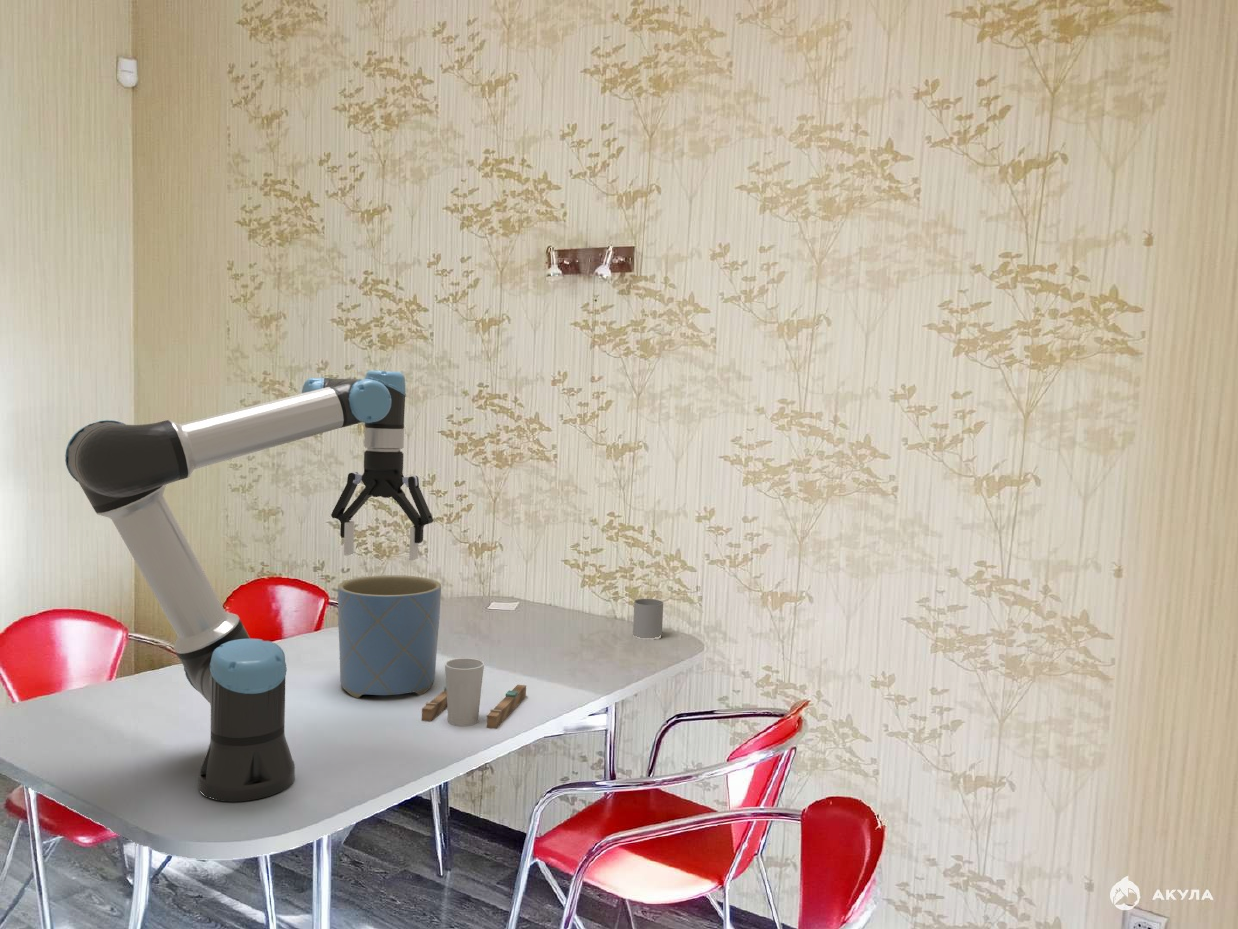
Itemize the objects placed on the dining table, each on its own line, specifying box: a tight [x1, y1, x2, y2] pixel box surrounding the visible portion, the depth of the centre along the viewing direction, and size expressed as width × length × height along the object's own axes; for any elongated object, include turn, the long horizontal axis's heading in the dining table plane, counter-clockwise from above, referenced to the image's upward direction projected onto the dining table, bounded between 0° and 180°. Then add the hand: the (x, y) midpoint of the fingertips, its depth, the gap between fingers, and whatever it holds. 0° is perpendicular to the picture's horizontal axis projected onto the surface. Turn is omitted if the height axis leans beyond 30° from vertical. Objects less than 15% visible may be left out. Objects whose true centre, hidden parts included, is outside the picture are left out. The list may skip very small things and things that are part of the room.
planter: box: [337, 574, 442, 699], centre depth 209 cm, size 23×23×24 cm
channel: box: [421, 684, 527, 729], centre depth 197 cm, size 21×16×3 cm
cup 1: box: [444, 657, 485, 727], centre depth 189 cm, size 8×8×12 cm
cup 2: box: [632, 598, 664, 638], centre depth 262 cm, size 8×8×10 cm
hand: (380, 557), depth 181 cm, fingers open, 13 cm apart
